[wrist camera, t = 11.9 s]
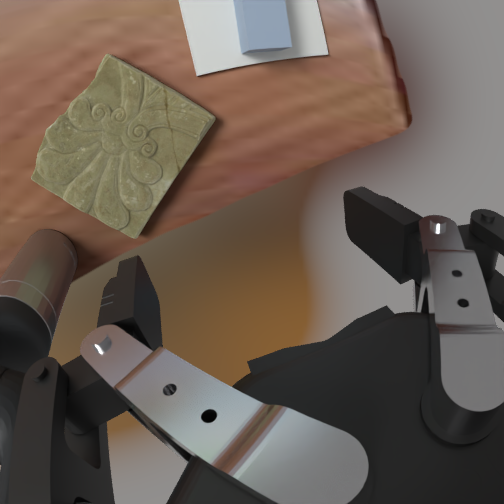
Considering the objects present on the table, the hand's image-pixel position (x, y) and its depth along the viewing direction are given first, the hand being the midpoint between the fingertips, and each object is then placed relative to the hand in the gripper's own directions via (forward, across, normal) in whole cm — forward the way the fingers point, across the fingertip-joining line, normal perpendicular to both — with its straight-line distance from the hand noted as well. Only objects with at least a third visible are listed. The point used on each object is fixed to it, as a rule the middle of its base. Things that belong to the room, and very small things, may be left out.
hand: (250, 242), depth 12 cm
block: (+32, -13, -15) cm, 38 cm away
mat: (+33, -13, -15) cm, 39 cm away
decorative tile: (+34, +9, -2) cm, 35 cm away
